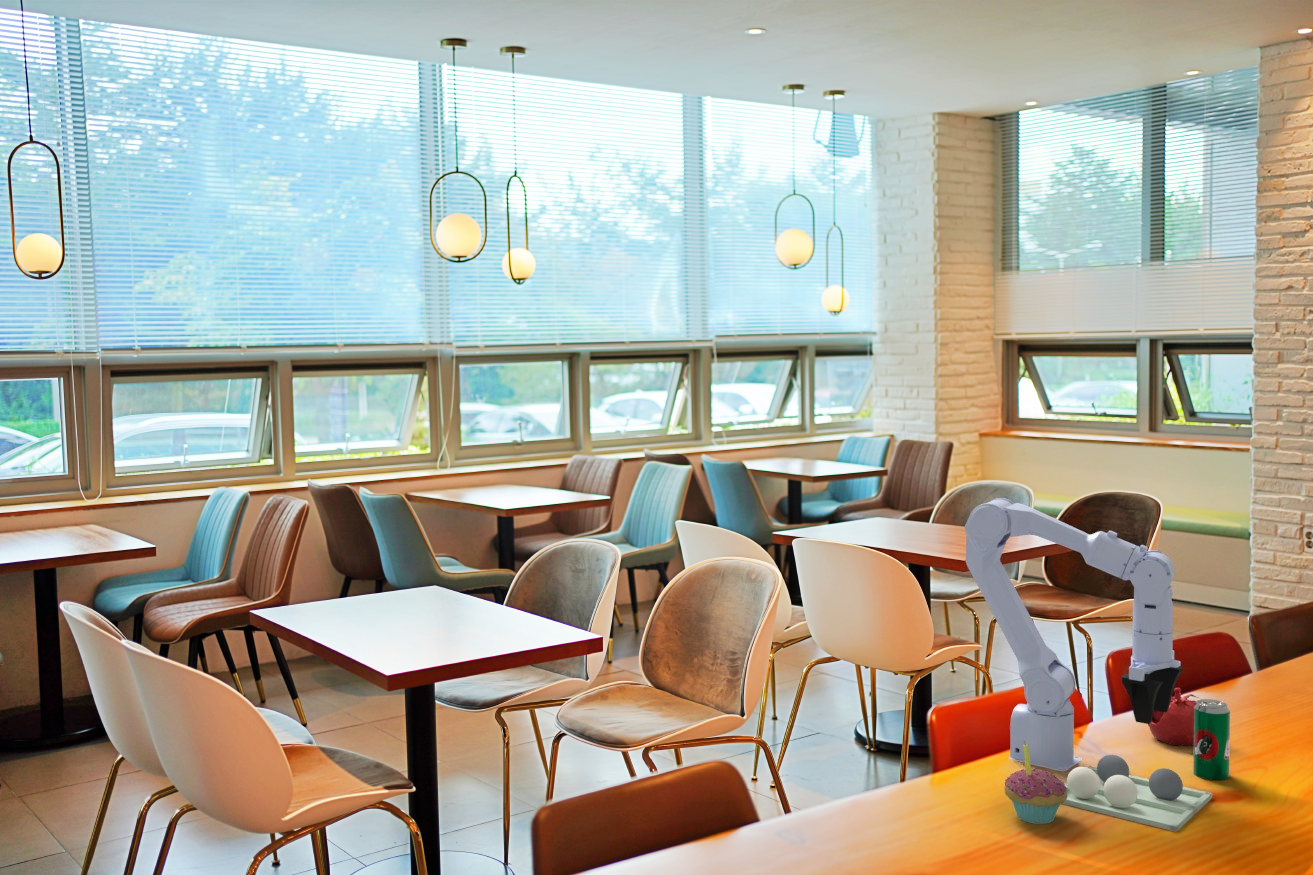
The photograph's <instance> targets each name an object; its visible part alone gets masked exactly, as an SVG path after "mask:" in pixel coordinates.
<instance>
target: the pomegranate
mask: <svg viewBox="0 0 1313 875" xmlns="http://www.w3.org/2000/svg"><path fill="white" fill-rule="evenodd" d="M1173 692H1174V696H1172V697H1171V701H1170V705H1169V709H1168V711H1167V712H1161V711H1155V710H1154V711H1153V717H1152V721H1151V723H1150V724H1147V725H1148V727H1149V730H1150V733H1151V734H1152V735H1153V737H1154V738H1155V739H1156V740H1158V741H1160V742H1162V743H1165V744H1169V745H1171V746H1176V747H1177V746H1180V747H1181V746H1186V747H1188V746H1189V747H1190V746H1194V707H1195V706H1196V704H1197V700H1191V699H1189V698H1190V697H1192V698H1193V697H1194V698H1199V699H1200V697H1199V696H1196V695H1194V694H1192V693H1190V694H1187V695H1185V696H1183V697H1182V693H1181V692H1182V689H1181V688H1180V687H1174V689H1173Z"/></svg>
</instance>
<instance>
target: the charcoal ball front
mask: <svg viewBox="0 0 1313 875" xmlns="http://www.w3.org/2000/svg"><path fill="white" fill-rule="evenodd" d="M1148 779H1149V788H1150V790H1151V792H1152V793H1153V795H1154V796H1156V797H1157V798H1159V799H1164V800H1168V801H1172V800H1175V799H1177V798H1178V797H1179V796H1180V795H1181V793H1182V790H1183V787H1184V785H1183V781H1182V779H1181V777H1180V776H1179V774H1178V773H1177V772H1175V771H1174V770H1172V769H1170V768H1163V767H1162V768H1158V769H1156V770H1154V771H1153V772H1152V773H1151V774H1150V776H1149V778H1148Z"/></svg>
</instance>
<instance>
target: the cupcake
mask: <svg viewBox="0 0 1313 875" xmlns="http://www.w3.org/2000/svg"><path fill="white" fill-rule="evenodd" d="M1024 744H1025V745H1023V748H1024V756H1025V763H1024V764H1025V769H1024V768H1023V769H1020V770H1018V771H1015V772H1012V773H1011V774H1010V775H1009V776H1008V777H1006V779H1005V780H1004V794H1005V796H1006V797H1008V799H1009V800H1011V802H1012V804H1013V807H1014V810H1015V813H1016V817H1017V818H1018V819H1019V820H1022V821H1023V822H1027V823H1032V824H1042V825H1043V824H1050V823H1052V822H1053V821H1054V820H1055V816H1056V814H1057V812H1058V809H1059V807H1060V806H1061V805H1063V804H1062V803H1064V802H1065V800H1066V799H1067V792H1066V786H1065V785H1064V784H1065V783H1064V781H1062V780H1061V779H1060V778H1059V777H1058V776H1056V775H1055V774H1053V773H1052V772H1049V771H1047V770H1046V769H1042V770H1041V769H1039V768H1033V769H1032V768H1031V764H1030V758H1029V750H1028V745H1026V742H1025V740H1024Z"/></svg>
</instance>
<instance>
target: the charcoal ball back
mask: <svg viewBox="0 0 1313 875" xmlns="http://www.w3.org/2000/svg"><path fill="white" fill-rule="evenodd" d="M1129 767H1130V766H1129V765H1128V763H1127V762H1126V761H1125V759H1124V758H1122V757H1121V756H1118V755H1116V754H1106V755H1104V756H1102V757H1101V758H1100V759H1099V761H1098V763H1097V766H1096V768H1097V773H1098V776H1099V777H1100V779H1101V780H1102V781H1103V782H1104V783H1105V782H1106V780H1107V779H1108V778H1110V777H1111V776H1114V775H1123V776H1126V777H1129V775H1130V768H1129Z"/></svg>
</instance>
